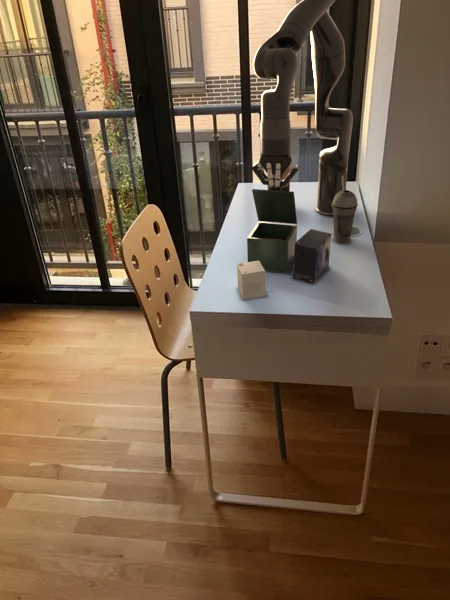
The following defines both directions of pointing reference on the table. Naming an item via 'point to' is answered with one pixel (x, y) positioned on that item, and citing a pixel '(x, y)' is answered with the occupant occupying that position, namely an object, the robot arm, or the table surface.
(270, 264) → the bin
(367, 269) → the table surface
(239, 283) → the white cardboard box
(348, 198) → the beverage cup
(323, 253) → the small box
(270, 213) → the bin lid
